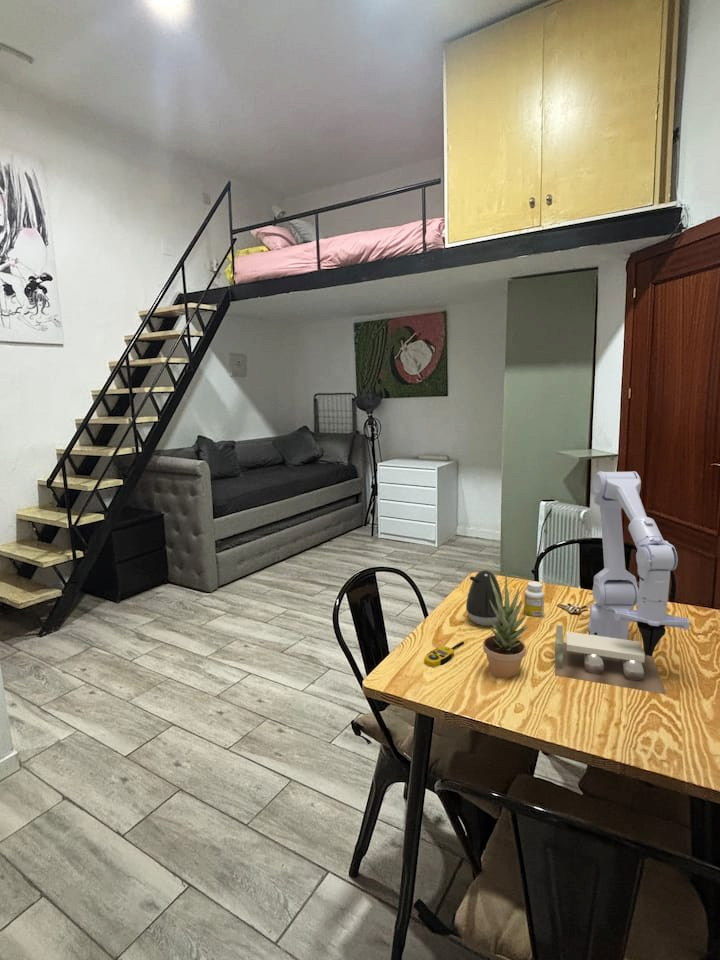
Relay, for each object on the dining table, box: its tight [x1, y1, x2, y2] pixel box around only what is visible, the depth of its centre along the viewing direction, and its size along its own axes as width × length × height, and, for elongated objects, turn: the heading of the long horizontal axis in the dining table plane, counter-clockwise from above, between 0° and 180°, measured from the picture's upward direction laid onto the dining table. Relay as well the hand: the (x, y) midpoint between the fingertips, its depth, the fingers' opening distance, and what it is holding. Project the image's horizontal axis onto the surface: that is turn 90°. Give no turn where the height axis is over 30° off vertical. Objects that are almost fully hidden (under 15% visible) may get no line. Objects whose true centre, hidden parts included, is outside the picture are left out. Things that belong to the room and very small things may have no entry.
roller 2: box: [621, 659, 644, 681], centre depth 118 cm, size 4×10×4 cm
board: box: [554, 624, 667, 695], centre depth 119 cm, size 22×17×7 cm
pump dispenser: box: [465, 569, 504, 627], centre depth 144 cm, size 10×10×15 cm
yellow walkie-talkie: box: [423, 641, 465, 668], centre depth 128 cm, size 5×2×15 cm
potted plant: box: [482, 574, 529, 679], centre depth 117 cm, size 10×10×25 cm
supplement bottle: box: [523, 580, 545, 619], centre depth 148 cm, size 5×5×10 cm
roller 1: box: [583, 653, 604, 674], centre depth 121 cm, size 4×10×4 cm
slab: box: [565, 631, 645, 662], centre depth 119 cm, size 16×7×2 cm, turn 69°
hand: (647, 653), depth 116 cm, fingers closed
